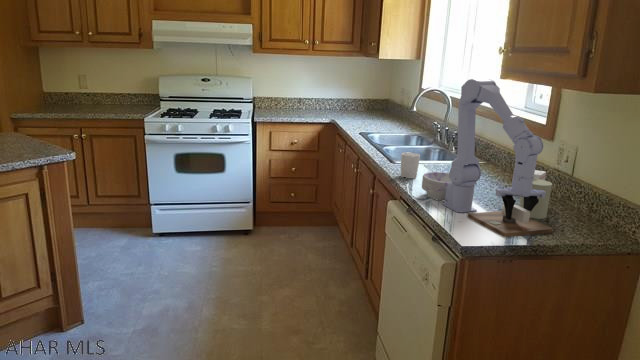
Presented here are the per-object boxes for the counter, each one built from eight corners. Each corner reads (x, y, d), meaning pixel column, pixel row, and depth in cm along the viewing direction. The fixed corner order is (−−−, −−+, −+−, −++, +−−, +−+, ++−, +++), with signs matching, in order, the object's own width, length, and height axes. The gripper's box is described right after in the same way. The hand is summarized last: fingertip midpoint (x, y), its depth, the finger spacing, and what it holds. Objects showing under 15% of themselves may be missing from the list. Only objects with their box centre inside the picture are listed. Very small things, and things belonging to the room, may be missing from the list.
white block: (498, 212, 151) (499, 202, 151) (511, 211, 153) (512, 201, 152) (518, 223, 143) (520, 212, 142) (532, 221, 144) (534, 211, 143)
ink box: (528, 199, 181) (533, 168, 177) (541, 202, 178) (547, 171, 175) (521, 203, 174) (526, 172, 171) (534, 206, 171) (540, 175, 168)
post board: (467, 216, 156) (468, 208, 155) (511, 213, 162) (512, 205, 161) (504, 237, 140) (506, 227, 139) (552, 232, 146) (554, 223, 145)
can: (538, 210, 167) (544, 177, 164) (551, 219, 158) (558, 184, 155) (513, 209, 167) (518, 176, 164) (524, 218, 158) (530, 183, 155)
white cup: (421, 178, 203) (423, 155, 200) (405, 179, 200) (407, 156, 197) (411, 174, 210) (413, 152, 207) (395, 175, 207) (397, 152, 204)
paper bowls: (452, 206, 167) (455, 184, 165) (413, 196, 176) (415, 176, 174) (468, 197, 178) (471, 177, 176) (431, 189, 187) (433, 169, 185)
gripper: (505, 178, 138) (498, 222, 142) (553, 180, 139) (545, 224, 142) (495, 172, 145) (489, 214, 148) (541, 174, 146) (534, 216, 149)
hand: (516, 218), depth 146 cm, fingers open, 4 cm apart
